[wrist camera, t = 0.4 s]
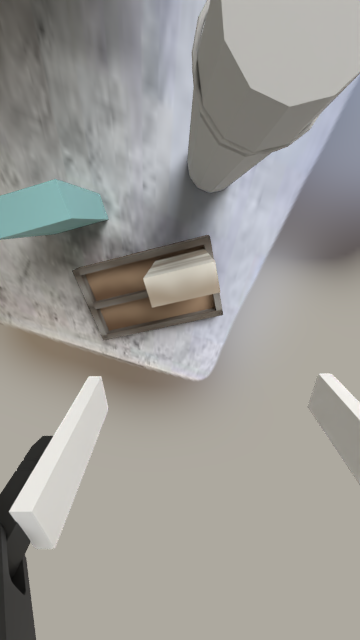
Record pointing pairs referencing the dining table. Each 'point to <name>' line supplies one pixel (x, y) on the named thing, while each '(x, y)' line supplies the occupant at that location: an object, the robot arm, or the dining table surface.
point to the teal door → (48, 210)
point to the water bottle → (264, 79)
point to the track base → (136, 283)
